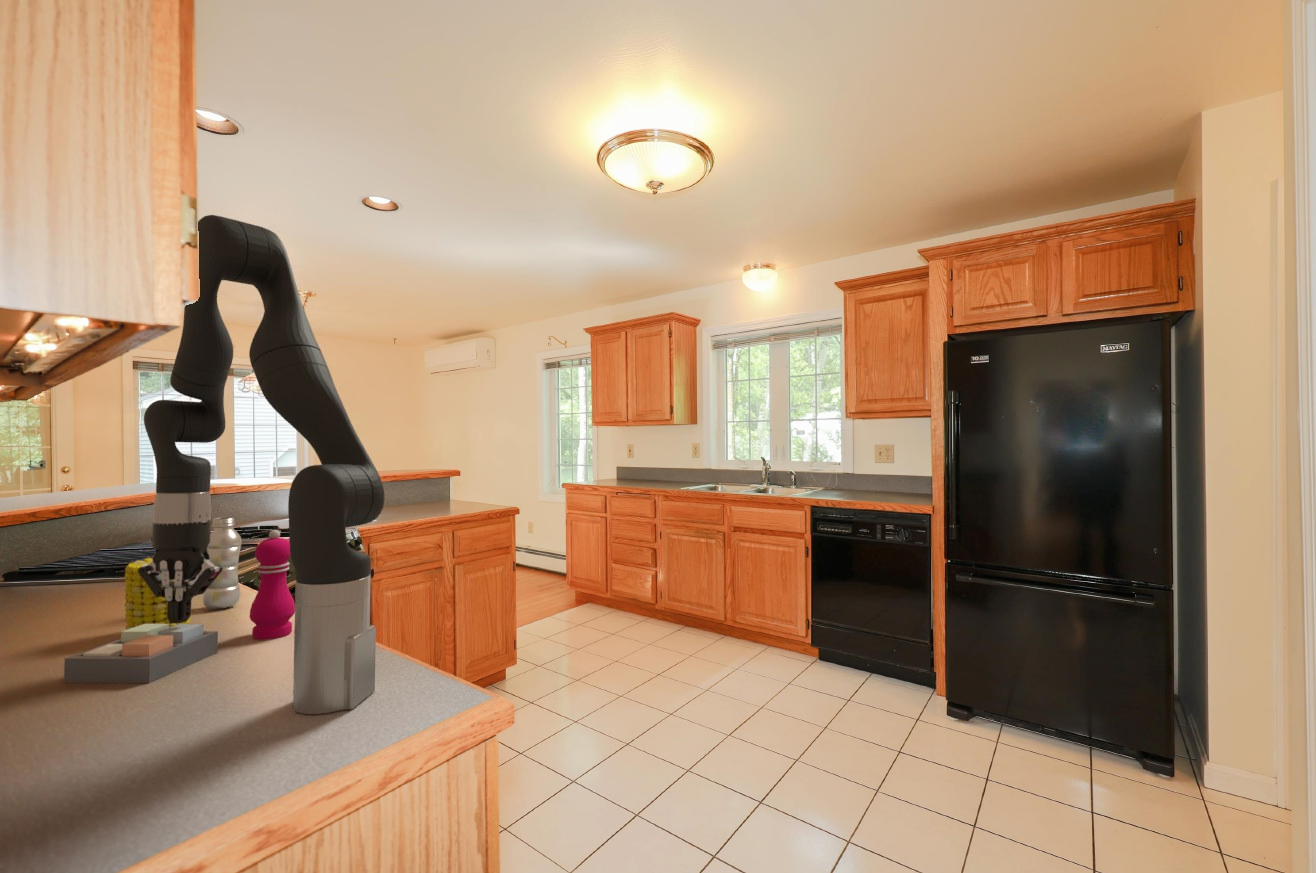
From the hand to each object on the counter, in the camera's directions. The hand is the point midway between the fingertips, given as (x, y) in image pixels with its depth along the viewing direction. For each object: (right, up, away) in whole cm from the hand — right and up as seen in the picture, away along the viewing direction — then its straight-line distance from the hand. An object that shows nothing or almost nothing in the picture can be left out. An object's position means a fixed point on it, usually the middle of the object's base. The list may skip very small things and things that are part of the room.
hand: (179, 621), depth 94 cm
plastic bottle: (-17, -7, +31) cm, 36 cm away
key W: (-6, -4, 0) cm, 7 cm away
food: (-16, -7, +14) cm, 22 cm away
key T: (0, -4, -6) cm, 7 cm away
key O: (0, -4, 0) cm, 4 cm away
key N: (-6, -6, -6) cm, 10 cm away
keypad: (-3, -6, -3) cm, 7 cm away
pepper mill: (+7, -7, +13) cm, 16 cm away
